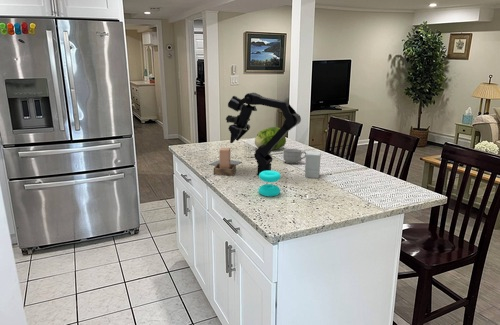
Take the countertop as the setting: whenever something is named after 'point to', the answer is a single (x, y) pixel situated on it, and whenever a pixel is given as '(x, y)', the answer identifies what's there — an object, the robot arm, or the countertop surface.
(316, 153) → the supplement box
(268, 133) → the lettuce
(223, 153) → the terracotta block
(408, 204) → the countertop surface
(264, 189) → the donuts
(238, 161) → the rubber mat
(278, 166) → the countertop surface
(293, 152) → the teacup
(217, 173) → the wooden frame
